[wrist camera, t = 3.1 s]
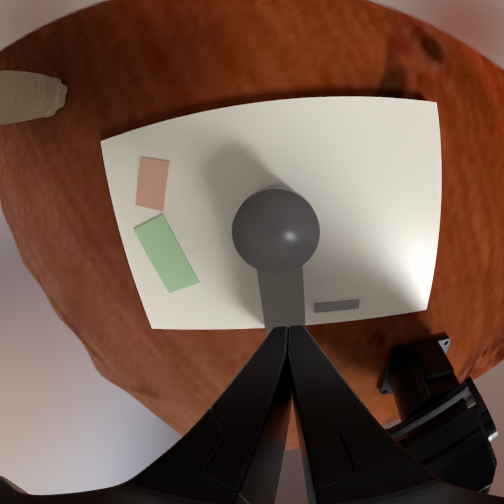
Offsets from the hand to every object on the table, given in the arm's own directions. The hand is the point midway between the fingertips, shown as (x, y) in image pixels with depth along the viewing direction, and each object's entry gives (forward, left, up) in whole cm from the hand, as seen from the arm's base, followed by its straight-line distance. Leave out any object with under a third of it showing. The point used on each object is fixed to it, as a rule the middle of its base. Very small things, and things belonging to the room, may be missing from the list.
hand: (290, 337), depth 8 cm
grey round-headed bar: (-2, 0, -10) cm, 10 cm away
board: (0, +1, -11) cm, 11 cm away
